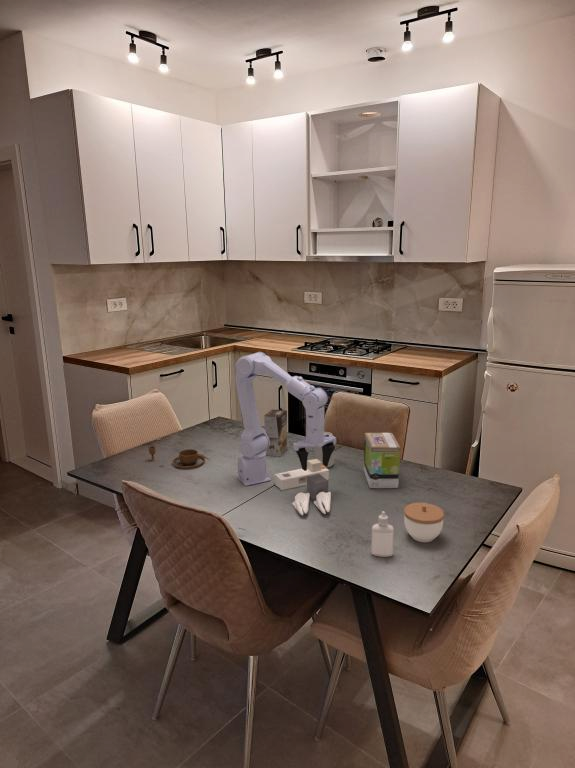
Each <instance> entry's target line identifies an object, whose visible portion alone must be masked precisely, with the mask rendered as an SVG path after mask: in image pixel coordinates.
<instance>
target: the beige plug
mask: <svg viewBox="0 0 575 768" xmlns="http://www.w3.org/2000/svg"><path fill="white" fill-rule="evenodd" d="M307 469H308V470H310V471H311V472H317V471H321V462H320V461H319V460H317V459H314V458H313V459H309V460H308V459H307Z"/></svg>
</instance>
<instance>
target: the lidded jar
mask: <svg viewBox="0 0 575 768" xmlns="http://www.w3.org/2000/svg"><path fill="white" fill-rule="evenodd" d="M444 519H445V512H444V510H443V509H442V508H441V507H439V506H438V505H435V504H431V503H428V502H412V503H409V504H408V505H406V506H405V507H404V509H403V520H404V521H403V522H404V527H405V530H406V531H407V533H408V534H409V535H410V536H411V539H413V540H415V541H416V542H420V543H430V542H432V541H434V539H436V538H437V537H438V536H439V535H440V534H441V532H442V530H443V526H444Z"/></svg>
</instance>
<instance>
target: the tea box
mask: <svg viewBox="0 0 575 768" xmlns="http://www.w3.org/2000/svg"><path fill="white" fill-rule="evenodd" d="M363 448H364V449H363V473H364V475H365V478H366V482H367V485H368V488H369V489H398V488H399V483H400V482H399V479H400V464H401V463H400V462H401V461H400V460H401V445H400V444H399V442H398V441H397V439H396V437H395V436H394V433H393V432H365V433H364V447H363Z"/></svg>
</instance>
